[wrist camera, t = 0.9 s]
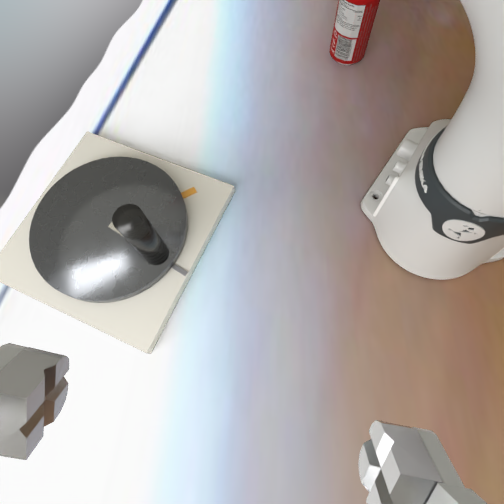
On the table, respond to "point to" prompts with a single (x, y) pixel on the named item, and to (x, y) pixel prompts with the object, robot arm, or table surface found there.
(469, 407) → the table surface
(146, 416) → the table surface
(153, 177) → the dial
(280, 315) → the table surface
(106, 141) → the dial base
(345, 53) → the soda can
